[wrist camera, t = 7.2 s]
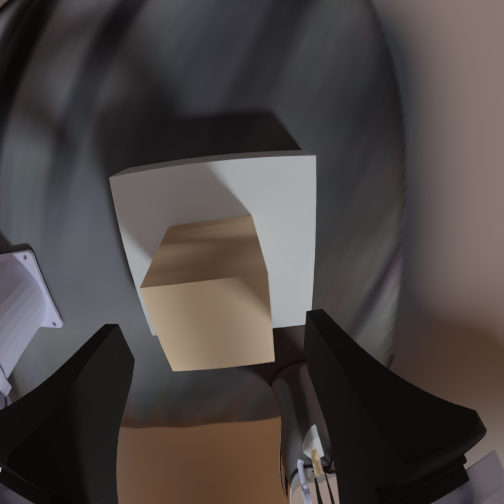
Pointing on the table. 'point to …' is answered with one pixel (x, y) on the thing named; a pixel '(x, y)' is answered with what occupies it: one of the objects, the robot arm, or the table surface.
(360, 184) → the table surface
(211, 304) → the beech block
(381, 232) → the table surface
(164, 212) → the ceramic box
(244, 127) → the table surface
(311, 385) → the beer glass
